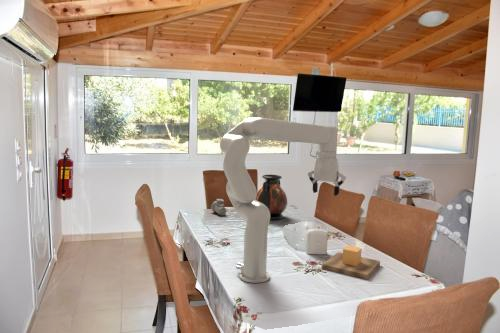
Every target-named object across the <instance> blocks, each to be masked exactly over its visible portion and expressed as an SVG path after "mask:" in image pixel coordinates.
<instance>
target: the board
mask: <svg viewBox="0 0 500 333" xmlns="http://www.w3.org/2000/svg"><path fill="white" fill-rule="evenodd" d="M342 260H343V252H341V251H338V252H336V253H335V254H333V256H331V257H329V258H328V259H327V260H326V261H324V262H323V263H322V264H321V269H323V270H326V271H330V272H334V273H337V274H342V275H348V276H350V277H351V276H352V277H355V278H359V279H364V280H368V279H369V278H370V277H371V276H372V275H373V274H374V272H375V271H376V270H377V269H378V268H379V267H380V265H381V260H377V259H373V258H372V259H371V258H367V257H363V256H361V262H360V263H359V264H358V265H357V266H353V265H348V264H344V263H342Z"/></svg>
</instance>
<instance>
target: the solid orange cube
mask: <svg viewBox="0 0 500 333" xmlns="http://www.w3.org/2000/svg"><path fill="white" fill-rule="evenodd" d="M362 249H363V247H358V246H353V245H347V246H345V247H344V248H342V253H343V260H342V263H344V264H348V265H353V266H357V265H358V264H359V263H360V262H361V257H362V252H363V251H362Z"/></svg>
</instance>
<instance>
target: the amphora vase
mask: <svg viewBox="0 0 500 333" xmlns="http://www.w3.org/2000/svg"><path fill="white" fill-rule="evenodd" d="M261 178H262V179H264V181H263V184H262V186H261V187H260V188H259V190H258V191H257V195H256V198H255V200H256V201H258V202H261V203H263V204H264V205H265V206H266V207H267V208H268V209H269V212H270V221H278V220H281V219H283V218H284V215H283V213H284V212H285V211H286V210H287V208H288V197H287V194H286V192H285V190H284V189H283V188H282V187H281V179H282V178H283V176H282V175H279V174H263V175H262V177H261Z"/></svg>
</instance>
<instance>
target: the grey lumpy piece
mask: <svg viewBox="0 0 500 333" xmlns="http://www.w3.org/2000/svg"><path fill="white" fill-rule="evenodd" d="M224 202H225V200H224V199H222V198H216V200H215V201H213V202H212V204H210V209H211V211H212V212H213V213H217V214H218V215H219V216H220V217H223V216H224V215H226V213H227V212H228V210H227V208H226V206H225V204H224Z"/></svg>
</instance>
